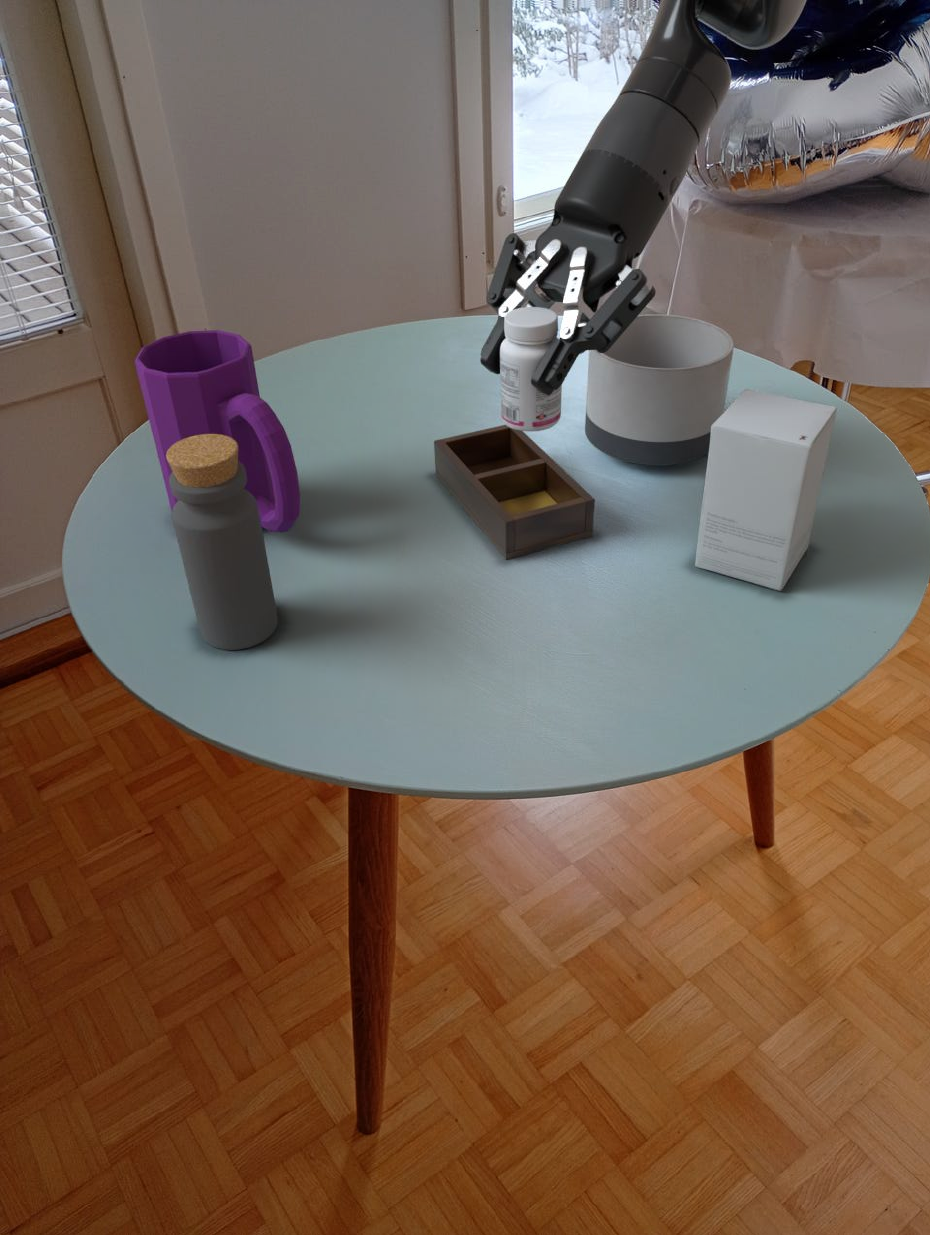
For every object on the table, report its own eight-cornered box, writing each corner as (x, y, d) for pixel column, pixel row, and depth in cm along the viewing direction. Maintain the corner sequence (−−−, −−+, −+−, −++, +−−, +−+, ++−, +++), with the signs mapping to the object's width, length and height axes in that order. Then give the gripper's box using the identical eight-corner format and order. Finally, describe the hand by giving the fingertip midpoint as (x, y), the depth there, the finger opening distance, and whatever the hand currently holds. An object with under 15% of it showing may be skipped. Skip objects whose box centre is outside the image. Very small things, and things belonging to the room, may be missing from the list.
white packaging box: (810, 547, 80) (842, 406, 73) (780, 594, 76) (811, 447, 68) (723, 523, 84) (745, 385, 76) (690, 566, 79) (709, 423, 71)
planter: (742, 438, 96) (759, 334, 89) (675, 491, 88) (688, 382, 82) (629, 403, 102) (637, 304, 96) (558, 450, 95) (561, 346, 88)
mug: (237, 475, 93) (207, 320, 83) (346, 534, 84) (326, 368, 75) (153, 514, 87) (111, 353, 78) (260, 581, 79) (227, 410, 70)
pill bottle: (561, 406, 80) (564, 304, 75) (560, 433, 76) (563, 328, 71) (502, 405, 80) (501, 304, 75) (498, 432, 77) (497, 328, 71)
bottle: (293, 613, 75) (263, 437, 66) (249, 659, 71) (211, 478, 62) (230, 596, 77) (193, 423, 68) (184, 639, 73) (138, 461, 64)
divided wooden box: (513, 456, 94) (513, 422, 92) (592, 536, 83) (595, 499, 81) (435, 475, 92) (433, 440, 89) (505, 559, 80) (505, 522, 78)
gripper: (532, 132, 75) (423, 331, 76) (687, 162, 66) (561, 385, 67) (576, 190, 81) (474, 374, 82) (722, 225, 72) (607, 429, 74)
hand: (514, 378), depth 75 cm, fingers closed on pill bottle, 4 cm apart
